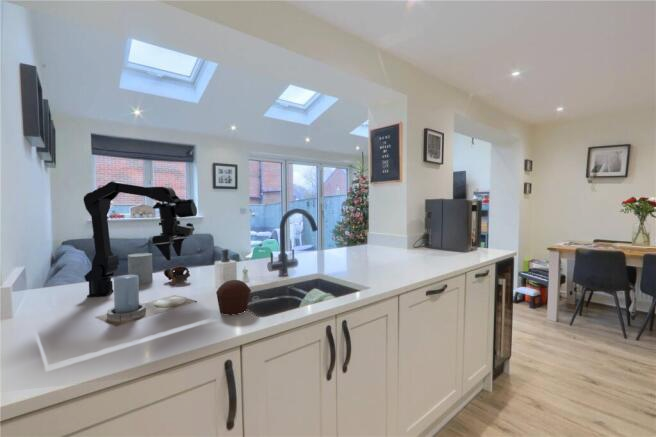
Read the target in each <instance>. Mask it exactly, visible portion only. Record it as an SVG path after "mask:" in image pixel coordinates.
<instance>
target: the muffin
mask: <svg viewBox="0 0 656 437" xmlns="http://www.w3.org/2000/svg"><path fill="white" fill-rule="evenodd" d="M251 291H252V290H251V289H250V287H249V286H248V285H247V283H245V281H243V280H238V279H231V280H226V281H225V282H224V283H222V284H221V285H220V286H219V287H218V288H217V290H216V292H215V294H216V298H217V303H218V304H217V305H218V309H219V312H220V313H221V314H222V313H223V314H229V315H228V316H233V315H232V314H235V315H239V314H238V313H241V314H243V313H245V312H244V311H246V312H247V310H248V305H249V299H250V293H251ZM242 312H243V313H242ZM223 314H222V315H223Z"/></svg>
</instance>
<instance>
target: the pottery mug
mask: <svg viewBox="0 0 656 437" xmlns="http://www.w3.org/2000/svg"><path fill="white" fill-rule="evenodd" d="M163 274H164V277H166V278H168V280H169V281H171V282H170V283H171V285H176V284H178V283H180V282H184V281H185V280H187V279H188V278H189V277H191V274H190V271H189V268H188V267H186V266H184V265H177V266H174V267H172V268H165V269H164V270H163Z"/></svg>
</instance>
